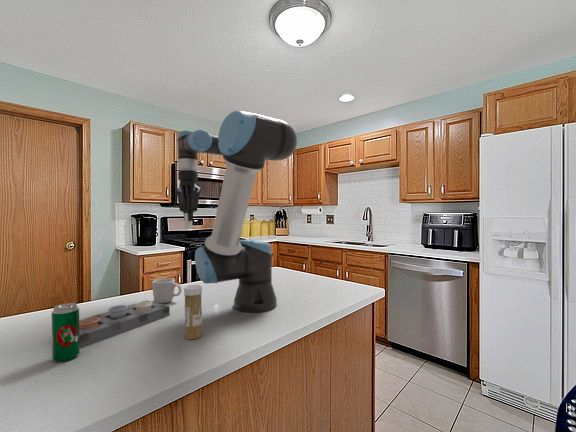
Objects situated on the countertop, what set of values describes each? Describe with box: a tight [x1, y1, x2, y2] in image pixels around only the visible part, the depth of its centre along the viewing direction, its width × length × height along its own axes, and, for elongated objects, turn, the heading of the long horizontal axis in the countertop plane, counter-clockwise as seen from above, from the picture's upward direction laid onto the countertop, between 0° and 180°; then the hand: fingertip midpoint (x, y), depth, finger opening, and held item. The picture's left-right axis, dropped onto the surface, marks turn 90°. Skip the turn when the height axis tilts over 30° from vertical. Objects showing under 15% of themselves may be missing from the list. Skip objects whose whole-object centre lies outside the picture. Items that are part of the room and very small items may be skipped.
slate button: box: [107, 304, 129, 320], centre depth 86 cm, size 5×5×3 cm
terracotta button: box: [79, 316, 100, 330], centre depth 79 cm, size 5×5×3 cm
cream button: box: [134, 301, 153, 311], centre depth 93 cm, size 5×5×3 cm
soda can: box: [51, 302, 81, 363], centre depth 67 cm, size 5×5×12 cm
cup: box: [151, 277, 183, 304], centre depth 109 cm, size 11×8×8 cm
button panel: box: [79, 300, 170, 349], centre depth 86 cm, size 12×26×3 cm, turn 149°
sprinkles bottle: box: [183, 284, 203, 340], centre depth 78 cm, size 5×5×14 cm
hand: (188, 229), depth 118 cm, fingers closed
